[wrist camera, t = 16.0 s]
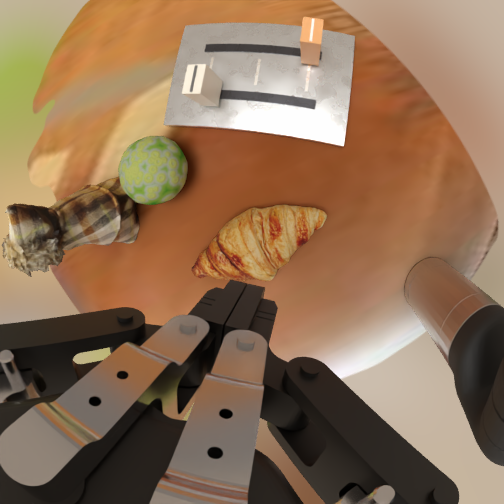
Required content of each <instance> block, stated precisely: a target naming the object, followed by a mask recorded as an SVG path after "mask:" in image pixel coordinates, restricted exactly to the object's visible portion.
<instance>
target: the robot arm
mask: <svg viewBox="0 0 504 504" xmlns="http://www.w3.org/2000/svg"><path fill="white" fill-rule="evenodd" d="M264 291H265V287H260V286H256V285H252V284H248V285H247V283H243V282H239V281H234V280H230V281H229V283H228V284H227V285H226V287H225V288H224V289H221V288H217V287H216V288H214V289H211V290H209V291H207V293H206V294H205V295H204V296H203V298H201V300H200V301H199V302H198V303H197V304H196V306H195V307H194V308H193V309H192V310H191V312H190V313H189V314H188V315H179V316H176V317H173V318H172V319H170V320H169V321H168V322H167V323H166V324H165V325H164V326H158V325H150V324H145V316H144V314H143V313H142V312H141V311H139V310H137V309H134V308H129V307H122V308H115V309H109V310H103V311H96V312H90V313H83V314H77V315H70V316H63V317H57V318H49V319H42V320H34V321H26V322H19V323H11V324H2V325H0V504H303V502H302V501H301V500H300V498H299V497H298V495H297V494H296V492H295V491H294V489H293V488H292V486H291V485H290V484H289V482H288V481H287V479H286V478H285V476H284V475H283V473H282V472H281V470H280V469H279V468H278V467H277V466H276V464H275V463H274V462H273V461H271V460H270V459H269V458H268V457H267V456H266V455H264V454H263V453H261V452H260V451H258V450H256V449H255V446H256V439H257V433H258V426H259V419H260V418H262V419H264V420H266V421H268V422H267V425H268V428H269V430H270V432H271V433H272V435H273V436H274V437H275V439H276V440H277V442H278V443H279V444H280V446H281V447H282V449H283V450H284V451H285V453H286V454H287V455H288V457H289V458H290V460H291V461H292V462H293V464H294V465H295V466H296V467H297V469H298V470H299V471H300V473H301V474H302V475H303V477H304V478H305V479H306V480H307V481H308V483H309V484H310V485H311V487H312V488H313V489H314V490H315V491H316V493H317V494H318V495H319V496H320V498H321V499H322V500H323V501H324V502H325V504H458V502H459V491H458V488H457V486H456V485H455V483H454V482H453V481H452V480H451V479H449V478H448V477H447V476H446V475H445V474H444V473H443V472H441V471H440V470H439V469H438V468H437V467H435V466H434V465H433V464H432V463H431V462H430V461H429V460H428V459H426V458H425V457H424V456H423V455H422V454H421V453H420V452H418V451H417V450H416V449H415V448H414V447H413V446H412V445H411V444H409V443H408V442H407V441H406V440H405V439H404V438H403V437H402V436H400V434H398V433H397V432H396V431H395V430H394V429H393V428H392V427H391V426H390V425H389V424H387V423H386V422H385V421H384V420H383V419H382V418H381V417H380V416H379V415H378V414H377V413H376V412H374V411H373V410H372V409H371V408H370V407H369V406H368V405H367V404H366V403H365V402H364V401H363V400H362V399H360V397H359V396H357V395H356V394H355V393H354V392H353V391H352V390H351V389H350V388H349V387H348V386H347V385H346V384H345V383H344V382H343V381H342V380H341V379H340V378H339V377H338V376H337V375H335V374H334V373H333V372H332V371H331V370H330V369H329V368H328V367H327V366H326V365H325V364H324V363H322V362H321V361H319V360H316V359H314V358H309V357H297V358H294V359H292V360H290V361H289V362H286V361H284V360H282V359H280V358H278V357H277V356H276V355H274V354H273V353H272V351H271V350H270V348H269V341H270V338H271V334H272V329H273V325H274V321H275V317H276V313H277V309H278V308H277V306H276V304H275V302H274V301H271V300H267V299H263V297H264ZM404 292H405V297H406V300H407V302H408V303H409V305H410V306H411V308H412V309H413V310H414V312H415V314H416V315H417V317H418V318H419V319H420V321H421V322H422V324H423V325H424V327H425V328H426V330H427V331H428V333H429V334H430V336H431V337H432V339H433V341H434V342H435V344H436V345H437V347H438V348H439V350H440V352H441V353H442V355H443V356H444V358H445V360H446V361H447V363H448V365H449V366H450V368H451V370H452V371H453V374H454V380H455V387H456V391H457V395H458V398H459V400H460V402H461V405H462V407H463V409H464V412H465V414H466V417H467V419H468V421H469V424H470V427H471V429H472V432H473V435H474V437H475V439H476V442H477V443H478V445H479V447H480V449H481V450H482V452H483V453H484V455H485V456H486V457H487V458H488V459H489V460H490V461H492V462H494V463H495V464H498V465H501V466H504V308H503V307H501V306H500V305H499V304H498V303H497V302H496V301H495V300H493V299H492V298H491V297H490V296H489V295H487V294H486V293H485V292H483V291H482V290H481V289H480V288H479V287H477V286H476V285H475V284H473V283H472V282H471V281H470V280H468V279H467V278H466V277H465V276H463V275H462V274H461V273H459V272H458V271H457V270H455V269H454V268H453V267H451V266H450V265H449V264H447V263H446V262H444V261H443V260H441V259H439V258H427V259H424V260H422V261H420V262H419V263H418V264H416V265H415V266H414V267H413V269H412V270H411V271H410V273H409V274H408V277H407V279H406V282H405V290H404ZM108 347H110V352H111V354H110V355H109V356H108V357H107V358H106V359H104V360H102V361H97V362H92V363H86V364H76V363H75V362H74V361H73V357H74V356H75V355H76V354H78V353H81V352H87V351H93V350H98V349H103V348H108ZM193 403H194V405H193ZM192 405H193V407H192ZM191 407H192V410H191V413H190V415H189V417H188V420H187V421H184V420H183V419H184V417H185V416H186V414H187V413H188V411H189V410H190V408H191Z"/></svg>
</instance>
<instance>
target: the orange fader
mask: <svg viewBox="0 0 504 504" xmlns="http://www.w3.org/2000/svg"><path fill="white" fill-rule="evenodd" d="M322 31H323V19H316V18H309V17H303V23H302V30H301V38H300V50H301V63H303V64H310V65H316V66H319V58H320V50H321V41H322Z"/></svg>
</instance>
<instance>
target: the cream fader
mask: <svg viewBox="0 0 504 504" xmlns="http://www.w3.org/2000/svg"><path fill="white" fill-rule="evenodd" d="M222 82H223V81H222V80H221V79H220V78H219V77H218V76H217V75H216V74H215V73H214V71H213V70H212V69H211V68H210V67H209V66H208V65H207V64H192V65H188V66H187V71H186V75H185V80H184V85H183V90H182V94H183V95H185V96H187V97H188V98H190V99H192V100H193V101H195V102H197V103H198V104H200V105H201V106H216V107H218V105H219V99H220V93H221V88H222Z"/></svg>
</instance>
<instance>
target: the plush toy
mask: <svg viewBox="0 0 504 504" xmlns="http://www.w3.org/2000/svg"><path fill="white" fill-rule="evenodd" d="M5 213H7V214H8V217H9V230H10V231H9V234H8V235H7V238H6V239H5V238H4V242H3V244H2V246H3V254H4V255H3V257H4V258H6V259H7V262H8V263H9V267H11V268H15V267H16V268H18V269H19V270H20V271H23V272H24V273H26V274H27V275H29V276H30V277H31V273H30V271H38V270H41V271H43V272H47V271H49V268H48V265H50V264H51V265H57V266H58V265H59V264H60V262H62V258H63V255H65V253H64V251H63V250H62V249H64V250H70V249H73V248H74V247H78V246H81V245H83V244H98V245H110V244H111V243H112V242H123V243H128V244H129V243H133V242H134V241H135V240H136V238H137V233H138V230H139V220H138V215H137V212H136V203H135V201H134V200H133V199H132V198H130V197H129V196H128V195H127V194H126V193H125V192H124V190H123V188H122V186H121V183H120V178H119V177H117V178H113V179H109V180H107V181H105V182H103V183H100V184H98V185H96V186H95V185H87V186H84V187H82V188H81V189H80V190H78V191H77V192H75V193H73V194H72V195H70V196H68V197H65V198H63V199H61V200H59V201H58V202H56V203H55V204H54V205H53V206H51V207H49V208H47V207H43V206H34V205H26V204H13V205H9V206H8V207H7V210H6V212H5Z"/></svg>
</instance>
